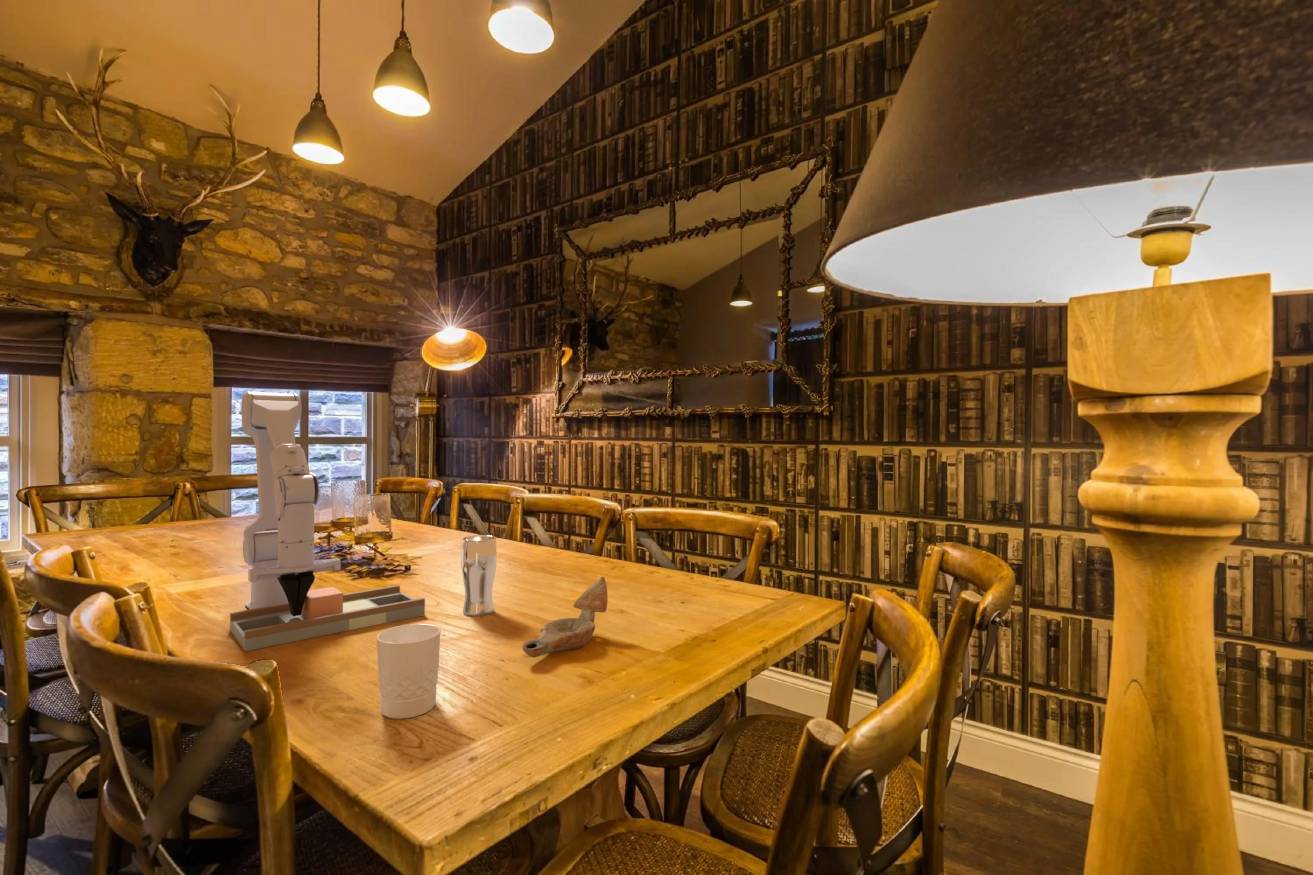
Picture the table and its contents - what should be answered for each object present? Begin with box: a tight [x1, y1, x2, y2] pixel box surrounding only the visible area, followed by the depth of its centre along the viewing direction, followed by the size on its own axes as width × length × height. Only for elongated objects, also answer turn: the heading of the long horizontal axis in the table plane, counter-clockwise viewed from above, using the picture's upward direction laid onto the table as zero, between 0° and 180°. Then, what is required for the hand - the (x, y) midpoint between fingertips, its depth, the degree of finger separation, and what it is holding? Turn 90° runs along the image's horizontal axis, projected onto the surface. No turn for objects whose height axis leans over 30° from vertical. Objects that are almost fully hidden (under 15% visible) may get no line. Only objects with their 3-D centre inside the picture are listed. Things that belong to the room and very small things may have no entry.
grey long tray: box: [229, 584, 426, 652], centre depth 116 cm, size 14×30×3 cm, turn 133°
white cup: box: [376, 623, 442, 720], centre depth 81 cm, size 8×8×10 cm
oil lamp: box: [521, 576, 609, 659], centre depth 105 cm, size 9×21×10 cm, turn 150°
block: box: [302, 586, 344, 619], centre depth 115 cm, size 6×6×4 cm
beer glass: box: [460, 534, 498, 617], centre depth 124 cm, size 7×7×15 cm
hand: (296, 614), depth 112 cm, fingers closed
